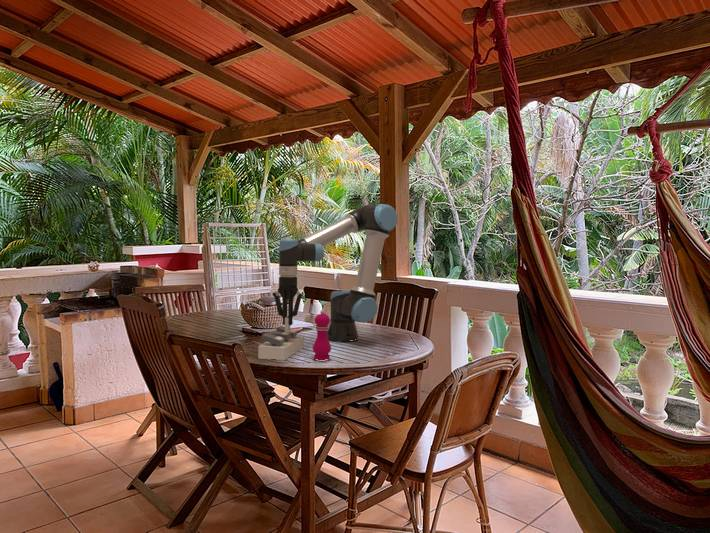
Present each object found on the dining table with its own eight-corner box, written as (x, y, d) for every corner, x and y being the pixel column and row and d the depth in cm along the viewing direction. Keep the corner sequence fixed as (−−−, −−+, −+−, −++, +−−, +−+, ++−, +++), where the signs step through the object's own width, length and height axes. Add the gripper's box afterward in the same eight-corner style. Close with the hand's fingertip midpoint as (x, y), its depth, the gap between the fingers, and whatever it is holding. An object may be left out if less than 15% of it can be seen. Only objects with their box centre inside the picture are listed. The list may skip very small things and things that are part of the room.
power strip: (308, 344, 243) (308, 331, 242) (284, 360, 214) (284, 345, 213) (284, 343, 245) (284, 330, 245) (258, 358, 216) (258, 343, 216)
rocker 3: (296, 335, 236) (297, 330, 235) (292, 338, 231) (294, 333, 230) (279, 329, 237) (281, 325, 237) (275, 332, 232) (276, 327, 232)
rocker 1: (283, 343, 220) (284, 338, 220) (279, 345, 215) (280, 340, 215) (265, 337, 222) (267, 331, 221) (260, 339, 217) (262, 334, 216)
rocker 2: (291, 337, 228) (291, 332, 228) (286, 340, 223) (287, 334, 223) (273, 335, 229) (273, 330, 229) (268, 337, 225) (269, 332, 224)
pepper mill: (330, 357, 220) (331, 308, 219) (330, 362, 213) (331, 311, 211) (313, 357, 220) (313, 308, 218) (312, 361, 213) (313, 311, 211)
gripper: (269, 276, 221) (269, 333, 223) (300, 277, 218) (299, 335, 220) (276, 274, 229) (276, 330, 230) (306, 276, 226) (305, 332, 227)
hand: (287, 332), depth 225 cm, fingers closed
